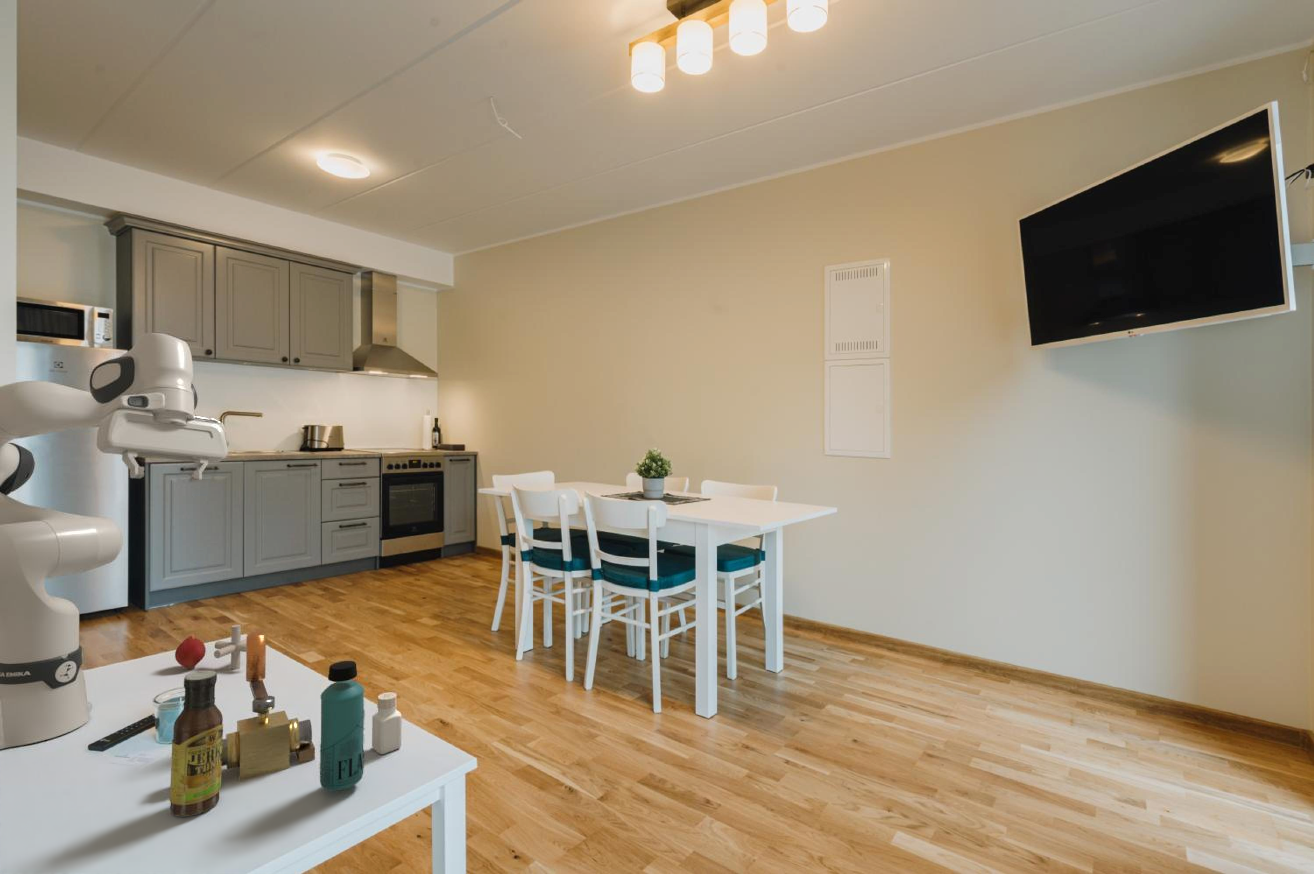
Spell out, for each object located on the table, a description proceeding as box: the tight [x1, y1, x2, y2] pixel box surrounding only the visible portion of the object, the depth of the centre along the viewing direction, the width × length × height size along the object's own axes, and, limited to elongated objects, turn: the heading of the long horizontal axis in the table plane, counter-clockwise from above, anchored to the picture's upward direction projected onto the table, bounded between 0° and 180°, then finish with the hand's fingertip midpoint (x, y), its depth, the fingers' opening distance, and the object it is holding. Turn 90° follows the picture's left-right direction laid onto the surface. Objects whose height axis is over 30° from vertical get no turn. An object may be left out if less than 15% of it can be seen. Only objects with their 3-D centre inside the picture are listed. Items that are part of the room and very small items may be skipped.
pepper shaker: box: [371, 691, 403, 755], centre depth 114 cm, size 4×4×10 cm
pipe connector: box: [213, 624, 247, 670], centre depth 150 cm, size 10×10×10 cm
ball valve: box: [222, 710, 316, 782], centre depth 106 cm, size 18×6×10 cm, turn 128°
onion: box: [174, 634, 207, 670], centre depth 149 cm, size 6×6×8 cm
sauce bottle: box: [169, 670, 224, 817], centre depth 96 cm, size 6×6×20 cm
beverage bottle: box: [318, 660, 366, 791], centre depth 101 cm, size 6×7×20 cm
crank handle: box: [245, 632, 276, 714], centre depth 112 cm, size 15×3×9 cm, turn 38°
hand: (167, 479), depth 118 cm, fingers open, 8 cm apart
